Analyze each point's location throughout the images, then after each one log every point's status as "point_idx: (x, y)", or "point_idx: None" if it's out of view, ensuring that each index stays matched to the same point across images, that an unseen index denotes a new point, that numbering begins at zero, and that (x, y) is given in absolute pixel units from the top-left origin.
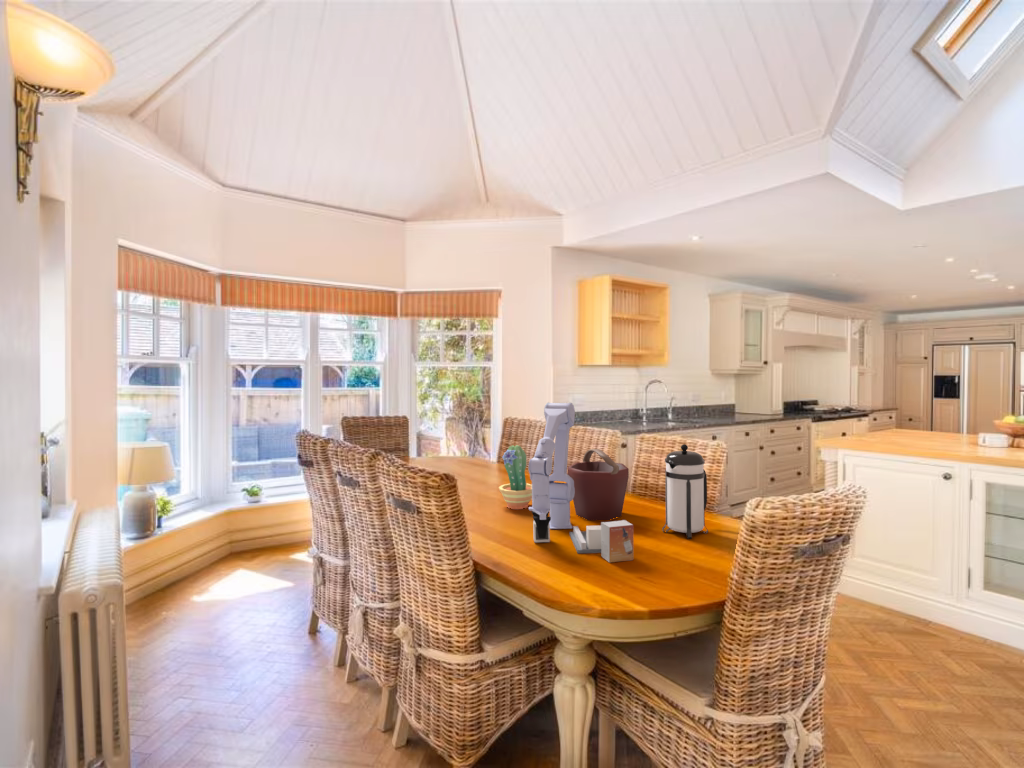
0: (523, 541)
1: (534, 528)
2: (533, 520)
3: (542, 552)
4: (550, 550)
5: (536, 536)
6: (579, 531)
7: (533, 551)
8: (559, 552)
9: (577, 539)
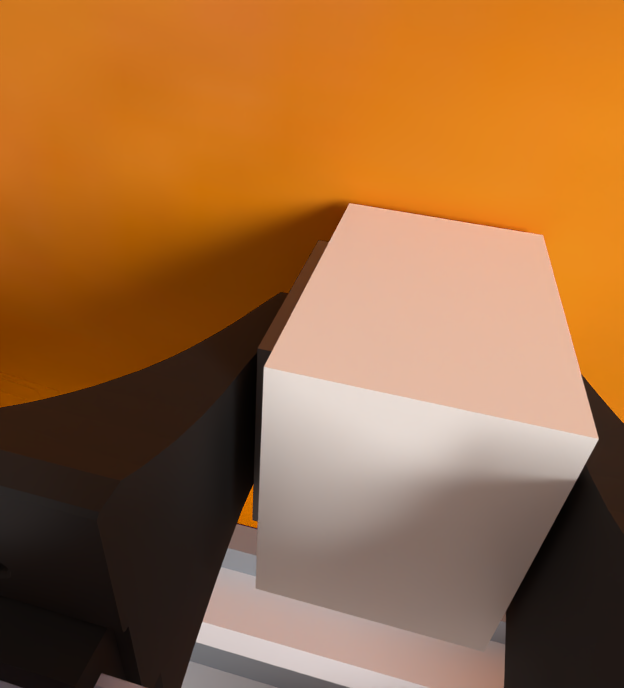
0: (504, 30)
1: (291, 315)
2: (587, 443)
3: (27, 215)
4: (97, 312)
5: (303, 270)
6: (324, 675)
7: (45, 112)
8: (51, 368)
9: (243, 586)
